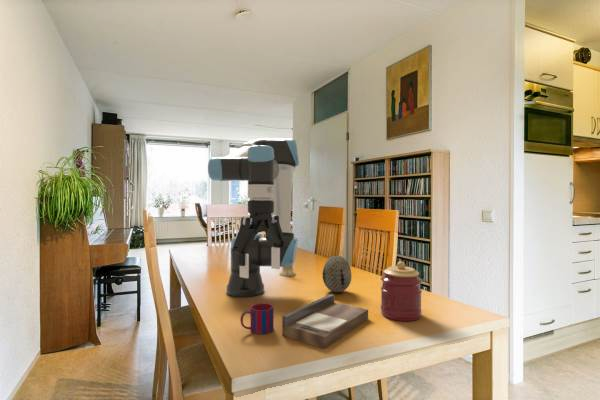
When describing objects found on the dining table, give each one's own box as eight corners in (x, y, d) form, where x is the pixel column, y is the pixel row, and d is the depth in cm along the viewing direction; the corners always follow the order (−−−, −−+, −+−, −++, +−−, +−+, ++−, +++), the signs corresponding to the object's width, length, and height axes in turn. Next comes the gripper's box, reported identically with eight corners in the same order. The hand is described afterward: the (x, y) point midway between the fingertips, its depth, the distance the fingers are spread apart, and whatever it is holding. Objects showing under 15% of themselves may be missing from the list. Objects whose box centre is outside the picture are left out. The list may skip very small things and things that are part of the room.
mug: (277, 331, 97) (277, 308, 97) (243, 338, 93) (243, 313, 93) (268, 323, 103) (268, 301, 103) (236, 329, 99) (236, 306, 99)
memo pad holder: (282, 335, 95) (282, 315, 95) (330, 309, 116) (330, 293, 116) (324, 348, 87) (324, 327, 87) (368, 318, 108) (368, 301, 108)
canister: (398, 324, 103) (398, 267, 103) (372, 311, 115) (372, 259, 115) (430, 318, 108) (431, 263, 108) (403, 306, 120) (403, 256, 120)
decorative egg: (356, 294, 133) (356, 257, 133) (328, 297, 130) (328, 258, 130) (344, 287, 145) (344, 252, 144) (318, 289, 141) (318, 253, 141)
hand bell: (276, 273, 170) (277, 241, 170) (292, 271, 173) (292, 240, 173) (283, 277, 162) (283, 243, 162) (298, 275, 166) (298, 242, 166)
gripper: (239, 200, 85) (238, 283, 86) (296, 199, 106) (296, 267, 106) (218, 199, 90) (218, 279, 90) (277, 199, 110) (277, 264, 110)
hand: (260, 272), depth 98 cm, fingers open, 13 cm apart
